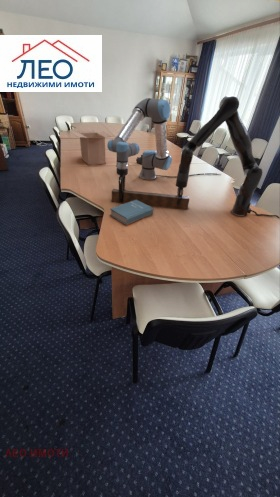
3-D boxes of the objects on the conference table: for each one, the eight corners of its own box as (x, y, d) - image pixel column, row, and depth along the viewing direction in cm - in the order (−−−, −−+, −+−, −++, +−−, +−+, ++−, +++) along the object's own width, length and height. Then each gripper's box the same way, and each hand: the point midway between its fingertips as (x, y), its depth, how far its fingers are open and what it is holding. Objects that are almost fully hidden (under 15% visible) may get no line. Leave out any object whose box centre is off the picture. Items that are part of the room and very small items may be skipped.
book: (135, 206, 155) (136, 199, 152) (152, 214, 146) (153, 207, 143) (110, 215, 142) (110, 208, 139) (127, 225, 133) (127, 218, 130)
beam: (111, 201, 159) (111, 191, 154) (113, 199, 162) (112, 188, 158) (187, 209, 156) (189, 199, 151) (186, 206, 160) (189, 196, 155)
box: (116, 165, 229) (116, 136, 213) (83, 168, 214) (80, 137, 198) (102, 154, 259) (101, 128, 243) (71, 156, 244) (68, 129, 228)
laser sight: (155, 166, 234) (156, 156, 228) (135, 164, 237) (135, 154, 231) (157, 164, 242) (158, 154, 236) (137, 161, 245) (137, 152, 239)
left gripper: (125, 172, 139) (124, 206, 153) (129, 164, 153) (128, 196, 167) (113, 171, 139) (114, 205, 153) (119, 163, 153) (118, 195, 167)
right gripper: (188, 183, 140) (183, 207, 150) (187, 176, 152) (182, 199, 162) (176, 182, 140) (172, 206, 150) (176, 175, 152) (172, 198, 162)
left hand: (121, 200), depth 160 cm, fingers closed on beam, 4 cm apart
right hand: (178, 202), depth 156 cm, fingers open, 5 cm apart
